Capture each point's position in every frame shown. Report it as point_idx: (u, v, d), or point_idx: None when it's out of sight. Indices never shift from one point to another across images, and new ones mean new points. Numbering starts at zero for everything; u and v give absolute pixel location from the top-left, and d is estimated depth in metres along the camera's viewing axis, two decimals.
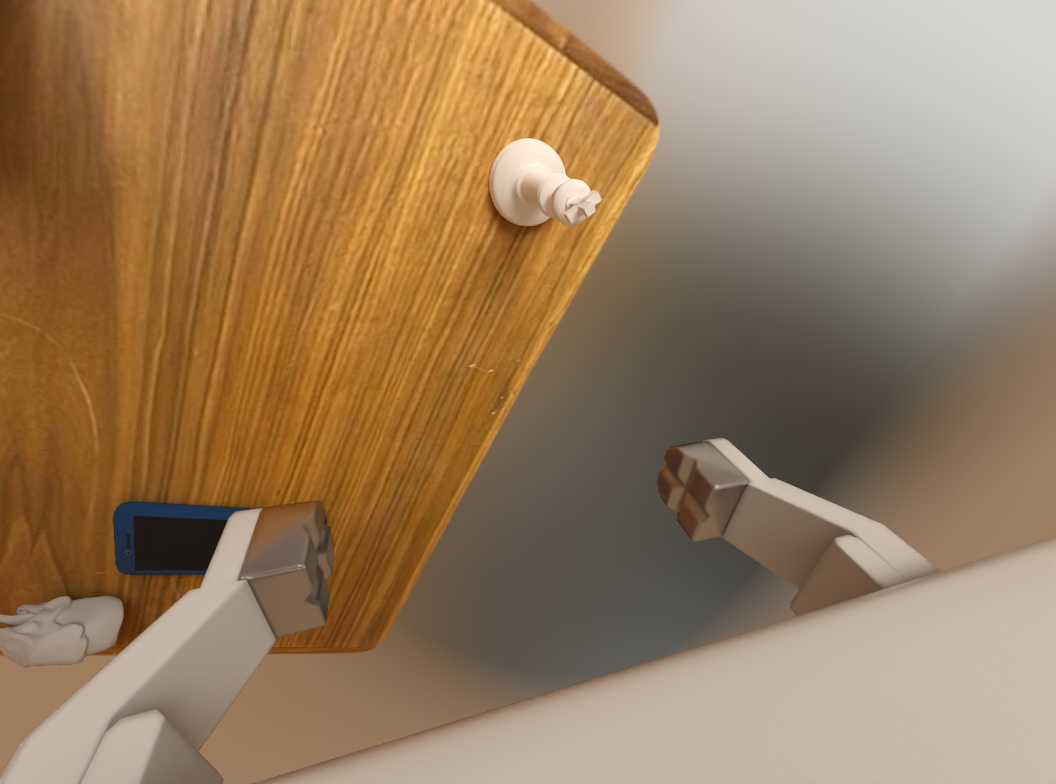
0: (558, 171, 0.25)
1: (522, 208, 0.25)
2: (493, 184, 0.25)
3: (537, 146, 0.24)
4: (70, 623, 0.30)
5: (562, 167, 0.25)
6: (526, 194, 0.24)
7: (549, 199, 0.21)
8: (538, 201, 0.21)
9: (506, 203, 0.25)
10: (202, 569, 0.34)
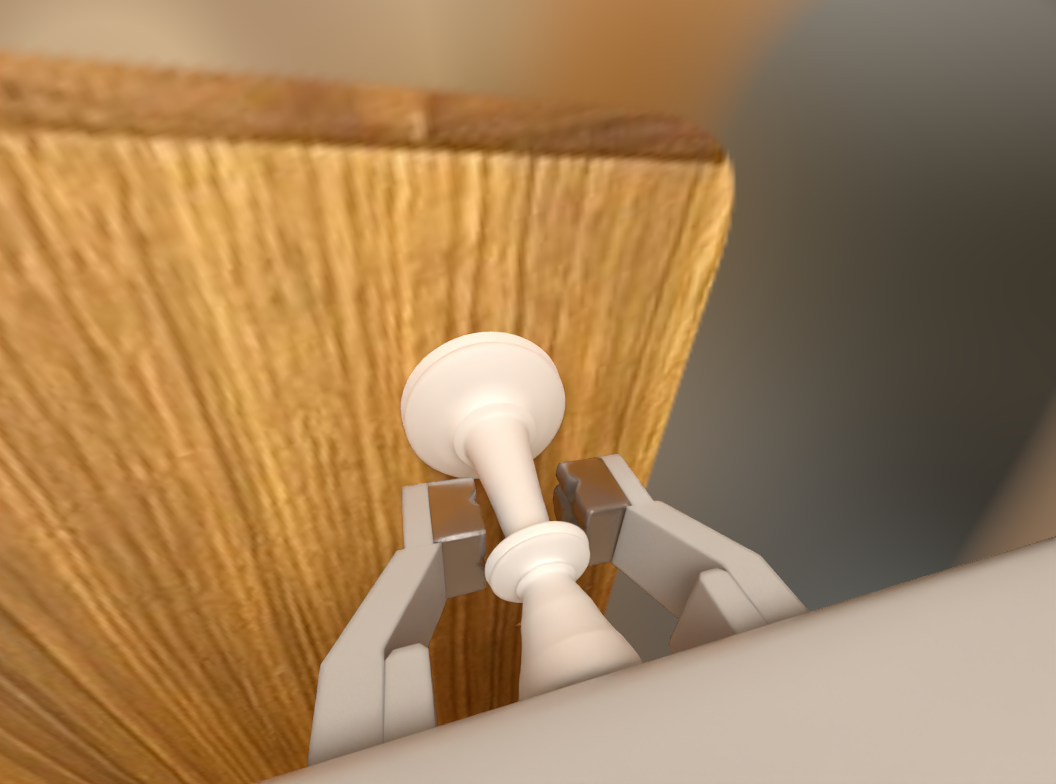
0: (533, 376, 0.11)
1: None
2: (417, 454, 0.12)
3: (467, 361, 0.11)
4: None
5: (539, 362, 0.11)
6: None
7: None
8: None
9: (458, 469, 0.12)
10: None
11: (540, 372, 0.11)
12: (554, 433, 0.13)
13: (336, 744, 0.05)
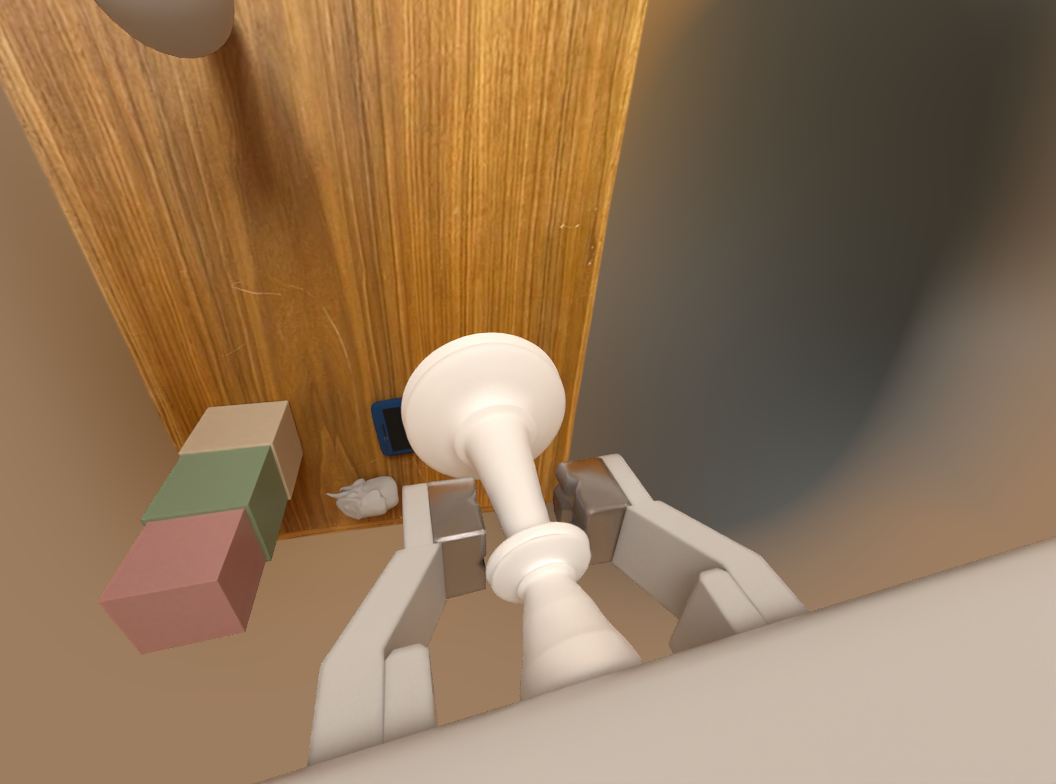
0: (534, 377, 0.11)
1: None
2: (417, 454, 0.12)
3: (468, 362, 0.11)
4: (371, 490, 0.47)
5: (539, 363, 0.11)
6: None
7: None
8: None
9: (458, 470, 0.12)
10: None
11: (540, 373, 0.11)
12: (554, 434, 0.13)
13: (336, 744, 0.05)
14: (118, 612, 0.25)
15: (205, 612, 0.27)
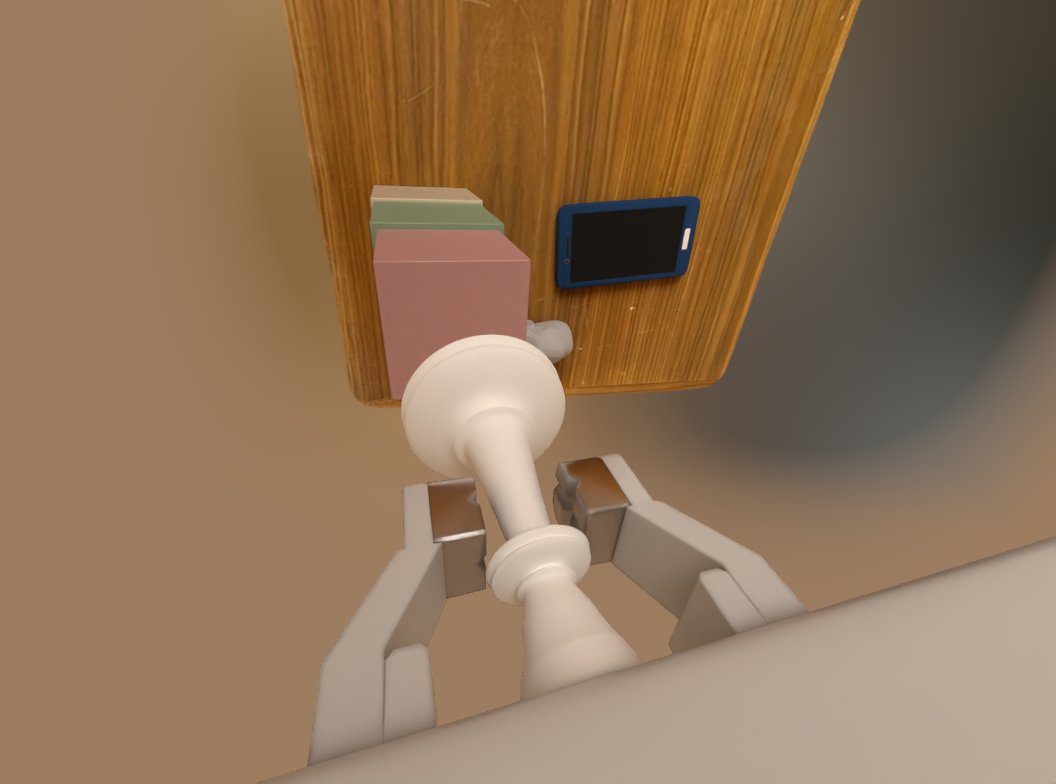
0: (533, 379, 0.11)
1: None
2: (417, 456, 0.12)
3: (468, 364, 0.11)
4: (546, 328, 0.38)
5: (539, 365, 0.11)
6: None
7: None
8: None
9: (458, 472, 0.12)
10: (612, 277, 0.39)
11: (540, 375, 0.11)
12: (554, 435, 0.13)
13: (336, 744, 0.05)
14: (391, 295, 0.16)
15: (494, 330, 0.17)
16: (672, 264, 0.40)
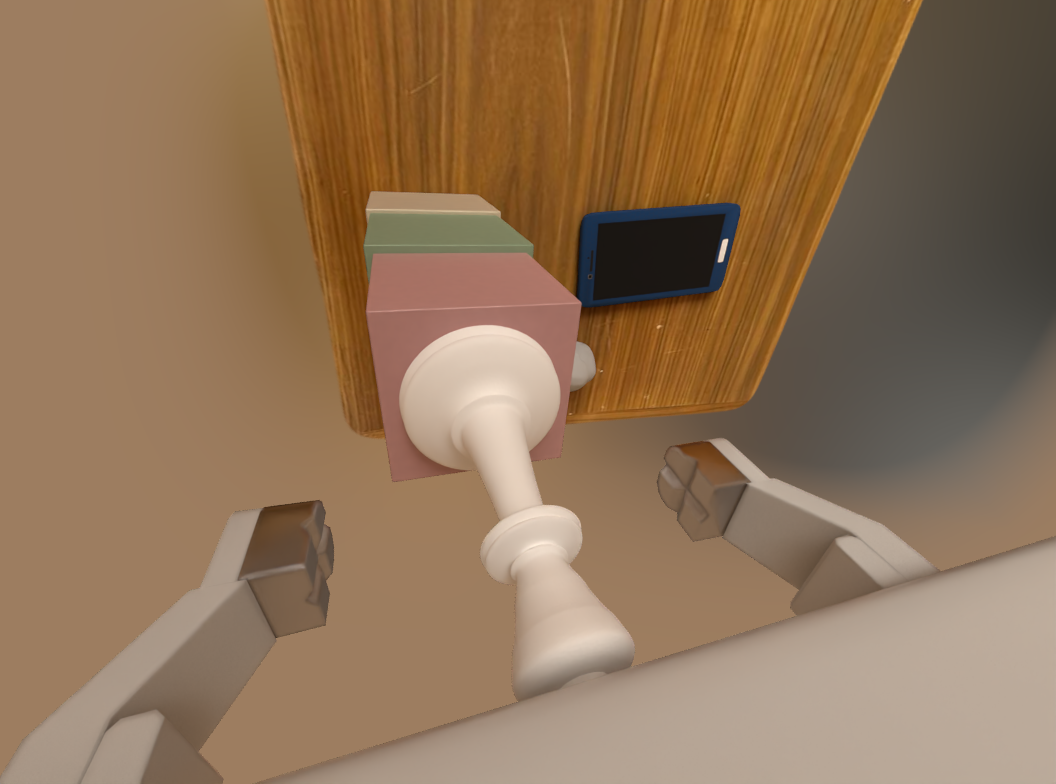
0: (529, 368, 0.12)
1: None
2: (415, 445, 0.12)
3: (464, 353, 0.11)
4: None
5: (534, 355, 0.12)
6: None
7: (516, 578, 0.08)
8: None
9: (455, 460, 0.13)
10: (639, 293, 0.35)
11: (535, 364, 0.12)
12: (550, 425, 0.13)
13: None
14: (392, 355, 0.11)
15: None
16: (706, 278, 0.36)
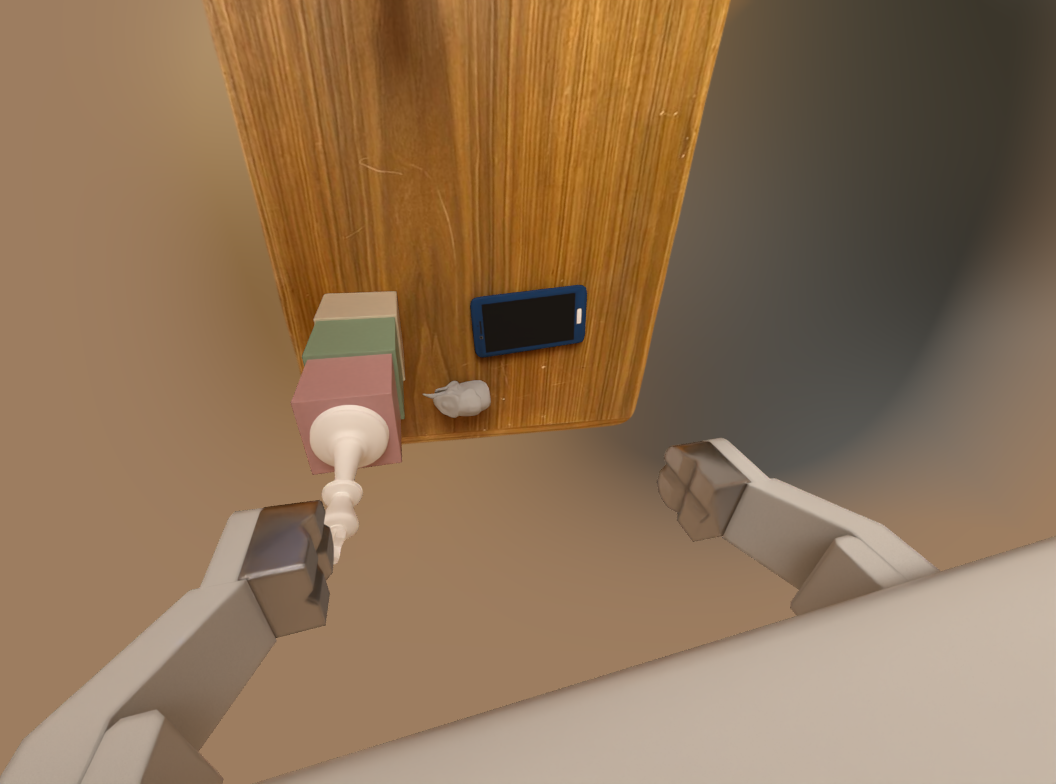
0: (365, 423, 0.26)
1: None
2: (318, 457, 0.27)
3: (333, 418, 0.26)
4: (466, 389, 0.48)
5: (367, 417, 0.26)
6: None
7: None
8: None
9: None
10: (520, 346, 0.49)
11: (368, 421, 0.26)
12: (384, 447, 0.28)
13: None
14: (304, 418, 0.26)
15: None
16: (570, 334, 0.50)
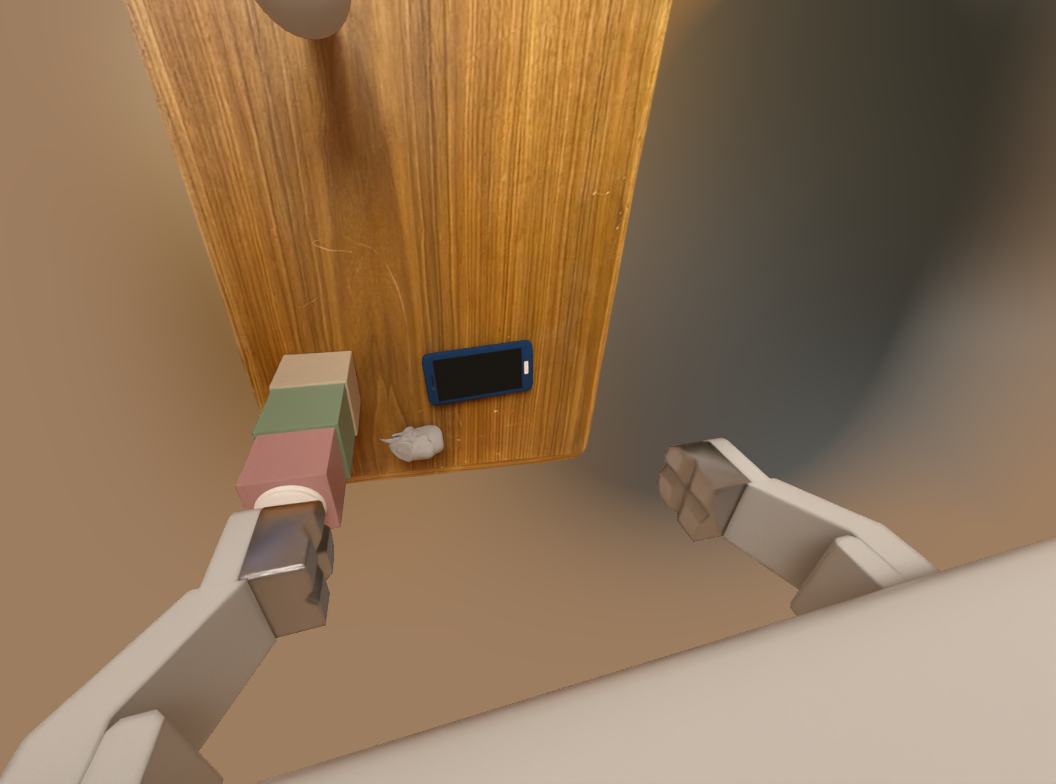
0: (301, 501, 0.30)
1: None
2: None
3: (273, 499, 0.30)
4: (420, 435, 0.52)
5: (304, 496, 0.30)
6: None
7: None
8: None
9: None
10: (471, 395, 0.53)
11: (305, 500, 0.30)
12: None
13: None
14: (248, 498, 0.30)
15: None
16: (519, 383, 0.55)
